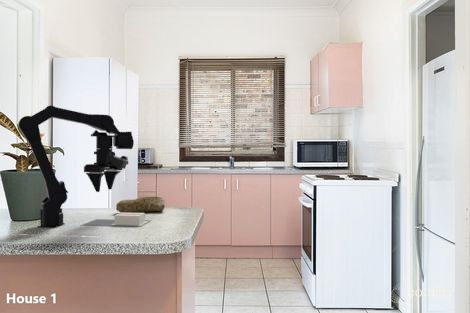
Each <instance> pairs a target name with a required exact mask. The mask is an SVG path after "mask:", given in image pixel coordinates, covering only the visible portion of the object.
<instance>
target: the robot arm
mask: <svg viewBox="0 0 470 313" xmlns="http://www.w3.org/2000/svg"><path fill="white" fill-rule="evenodd" d="M51 118H52V119H56V120H57V119H58V120H63V121H66V122H73V123H77V124H80V125H81V124H83V125H85V126H87V127H91V128H93V129H95V130H94V131H93V132H92V133H91V134H90V137H95V139H96V140H95V141H96V142H95V143H96V145H95V148H96V149H95V151H93V155H95V159H96V160H95V161H96V162H93V163H89V164H88V163H87V164H85V165H84V166H83V173H85V175H87V177H88V179H89V180H90V182H91V184H92V186H93V188H94V190H95V192H96V193H100V191H101V183H102V177H103V176H104V179H105V182H106V185H107V189H108V190H112V189H113V186H114V182H115V179H116V176H117V175H119V174H120V173H122V172H121V171H123V169H124V170H125V169H126V166H127V165H129V158H128V156H126V155H122V156H118V155H116V152H115V151H113V147H115V149H116V150H132V149H133V147H134V142H135V141H134V138H133V134H132V133H133V132H132V131H120V130H119V129H118V128H117V126H116V124H115V121H114V118H113V117H112V116H111V115H109V114H97V113H96V114H91V113H90V114H89V113H84V112H80V111H74V110H71V109H66V108H61V107H56V106H54V105H47V106H46V107H45V108H43V109H41V110H40V111H38V112H36V113H35V114H33V115H25V116H23V117H22V118H20V119H19V121H18V123H17V124H18V129H19V131H20V132H21V134H22V135H23V137H24V138H25V140H26V141H27V143H28V144H29V146H30V148H31V151H32V154H33V156H34V158H35V161H36V162H37V165H38V168H39V170H40V173H41V175H42V177H43V180H44V184H45V190H46V195H47V196H46V197H45V198H44V199H43V200H42V201H41V202H40V204H41V206H42V208H41V209H40V211H39V212H40V214H39V215H40V225H38V226H37V228H49V229H51V228H58V227H61V226H63V225H64V226H65V223H64V212H63V208H62V205H63V204H65V203H66V202H67V200H68V193H69V191H68V190H67V189H66V184H65V181H63V180H60V181H59V180H58V178H57V176H56V173H55V172H54V169H53V167H52V165H51V162H50V159H49V157H48V154H47V151H46V150H45V147H44V145H43V143H42V138H41V132H40V126H39V125H41V124H43V123H45V122H46V121H48V120H50V119H51Z"/></svg>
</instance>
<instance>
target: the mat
mask: <svg viewBox="0 0 470 313" xmlns="http://www.w3.org/2000/svg"><path fill="white" fill-rule="evenodd" d="M151 222H152V220H146V219H145V222H144V223H142V224H140V225H120V224H115V219H110V218H109V219H107V218H106V219H103V218H102V219H101V218H98V219H97V218H96V219H93V220H91V221H88V222H86V223H82V224H80V225H79V226H81V227H83V226H84V227H114V228H115V227H119V228H142V227H143V226H145V225H147V224H148V223H151Z"/></svg>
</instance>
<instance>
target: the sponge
mask: <svg viewBox="0 0 470 313" xmlns="http://www.w3.org/2000/svg"><path fill="white" fill-rule="evenodd" d="M115 207H116V211H117V212H120V213H145V212H147V213H148V212H162V211H164V210H165V200H164V198H163V197H159V196H144V197H139V198H135V199H122V200H120V201H119V202H117V203H116V206H115Z"/></svg>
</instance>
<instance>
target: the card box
mask: <svg viewBox="0 0 470 313" xmlns="http://www.w3.org/2000/svg"><path fill="white" fill-rule="evenodd" d="M114 220H115V224H120V225H140V224H142V223H144V222H145V220H146V213H145V212H142V213H122V212H120V213H117V214H115V215H114Z"/></svg>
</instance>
